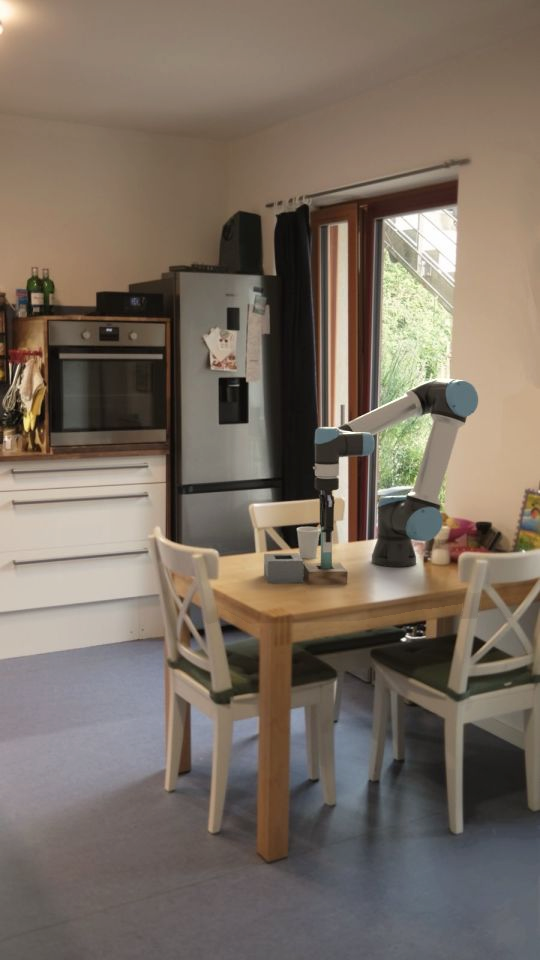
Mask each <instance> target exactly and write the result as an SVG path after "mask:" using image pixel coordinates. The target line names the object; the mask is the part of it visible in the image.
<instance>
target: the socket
mask: <svg viewBox="0 0 540 960" xmlns="http://www.w3.org/2000/svg"><path fill="white" fill-rule="evenodd" d="M303 563H304V559H303V558H301V557H300V553H299V552H297V553H296V552H294V553H292V552H291V553H264V554H263V576H264V578H265V580H266V582H267V584H299V583H300V584H302V583H304V576H303Z"/></svg>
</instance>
